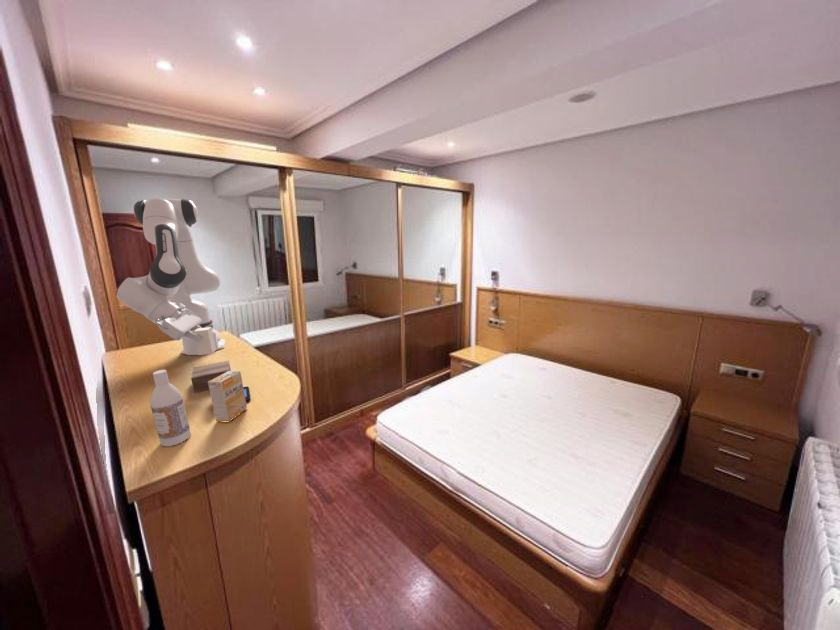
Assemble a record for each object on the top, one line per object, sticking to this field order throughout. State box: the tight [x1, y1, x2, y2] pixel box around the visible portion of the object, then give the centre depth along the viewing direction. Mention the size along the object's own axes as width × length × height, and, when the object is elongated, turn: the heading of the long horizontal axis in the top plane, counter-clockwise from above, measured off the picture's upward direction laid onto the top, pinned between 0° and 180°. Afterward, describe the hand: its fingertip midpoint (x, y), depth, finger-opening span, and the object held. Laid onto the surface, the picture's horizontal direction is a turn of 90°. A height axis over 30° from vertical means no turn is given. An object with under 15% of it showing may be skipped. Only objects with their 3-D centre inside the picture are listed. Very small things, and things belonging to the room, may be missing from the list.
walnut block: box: [190, 360, 232, 394], centre depth 130 cm, size 12×12×6 cm
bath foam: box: [149, 369, 192, 447], centre depth 92 cm, size 7×7×20 cm
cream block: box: [194, 327, 217, 356], centre depth 127 cm, size 4×4×9 cm
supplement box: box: [208, 370, 248, 422], centre depth 105 cm, size 8×5×13 cm, turn 168°
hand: (203, 337), depth 127 cm, fingers closed on cream block, 4 cm apart
